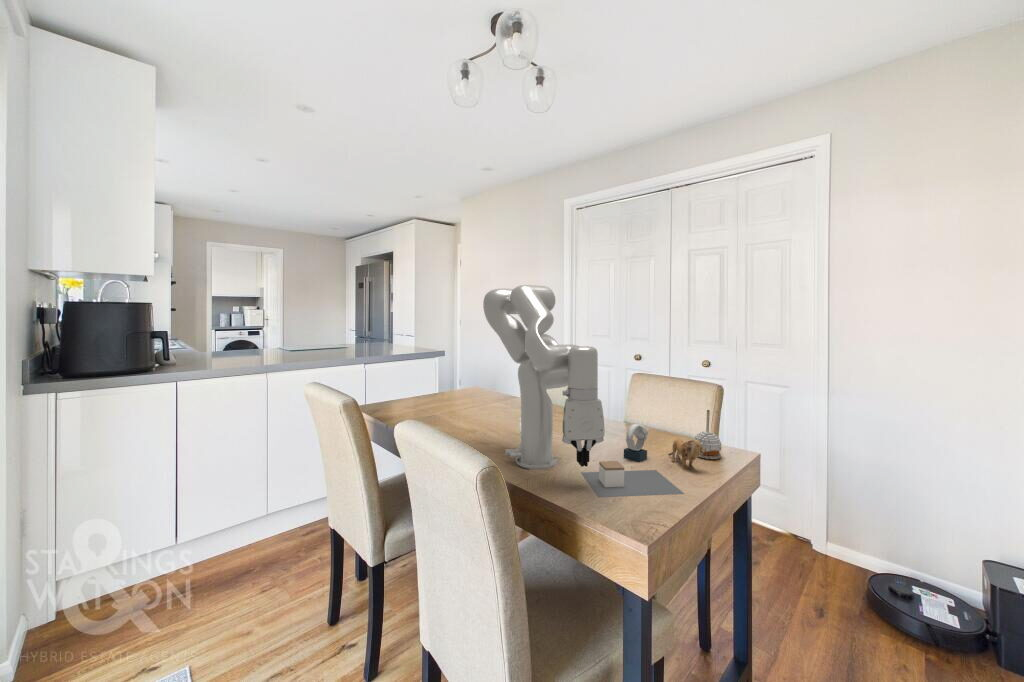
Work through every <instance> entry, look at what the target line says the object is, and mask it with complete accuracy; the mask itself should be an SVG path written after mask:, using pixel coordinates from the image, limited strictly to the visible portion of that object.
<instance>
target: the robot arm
mask: <svg viewBox="0 0 1024 682" xmlns="http://www.w3.org/2000/svg"><path fill="white" fill-rule="evenodd" d="M482 305H483V312H484V316H485V319H486V320H487V323H488V324H489V326H490V328H492V330H493V331H494V332H495V333H496V335H497V336H498V337H499V339H500V341H501V343H502V344H503V346H504V348H505V350H506V351H507V353H508V354H509V357H510V358H511V360H512V361H514V363H516V364H519V366H518V368H517V369H518V370H517V380H518V384H519V390H520V391H519V392H520V444H519V445H518V447H515V449H511V448H509V449H508V448H507V449H506V448H505V449H504V450H505V451H504V453H505V456H506V457H507V456H508V457H510V458H515V464H516V465H517V466H518V467H521V468H524V469H531V470H544V469H545V470H546V469H550V468H554V467H555V466H556V465H558V457H557V456H555V455H553V435H554V434H553V433H554V432H553V428H554V427H553V424H554V423H553V421H554V420H553V416H554V415H553V414H554V411H553V409H554V408H553V407H554V405H553V402H552V401H553V400H552V399H551V397H550V395H549V394H548V392H547V390H552V389H560V388H566V387H567V389H564V390H562V396H565V397H567V398H566V399H565V401H564V407H563V413H562V414H563V415H562V435H563V436H562V438H561V440H562V442H563V444H567V445H572V446H573V447H574V448H575V449H576V462H577V463H578V465H579V466H580V467H581V468H583V467H586V468H587V467H588V465H589V463H590V451H591V450H592V448H593V447H594V446H595V445H596V444H599V443H602V442H604V441H605V438H604V437H605V433H606V431H605V418H604V409H603V408H604V407H603V404H602V400H601V399H600V398H598V396H599V395H598V393H599V392H598V391H599V389H598V388H599V387H598V384H599V383H598V382H599V379H598V378H599V376H598V373H599V372H598V371H599V367H598V363H599V362H598V361H599V359H598V356H599V355H598V349H597V348H595V347H594V346H585V345H583V346H581V345H577V344H559V343H558V342H557V341H556V339H555V338H554V337H553V336H551V335H550V334H547V332H548V331H549V330H550V329H551V328H552V326H553V324H554V321H555V319H554V315H553V313H552V312H551V311H552V310H553V309H554V308H555V305H556V296H555V293H554V291H553V290H552V288H550V287H549V286H545V285H533V284H530V285H529V284H523V285H518V286H516V287H514V288H495V289H491V290H490V291H488V292H487V293H486V294H485V295H484V298H483V303H482ZM513 315H517V316H518V317H519V318H520V320H521V321H522V323H523V324H522V323H521V321H519V320H518V319H517V318H516V317H514V316H513ZM524 326H525V327H524ZM525 328H526V329H525ZM582 441H583V445H582Z"/></svg>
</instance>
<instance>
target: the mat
mask: <svg viewBox="0 0 1024 682" xmlns="http://www.w3.org/2000/svg"><path fill="white" fill-rule="evenodd" d="M580 474H581V475H582V476H583V478H584V480H586V482H587V483H588V485H589V486H590V487H591V489H592V491H593V492H594V493H595V495H596V496H597V498H613V497H615V498H616V497H619V498H620V497H634V496H635V497H639V496H665V495H666V496H667V495H669V496H670V495H685V493H684V492H683V491H682V490H681V489H680V488H679V487H677V486H676V485H675V484H673V482H672V481H670V480H669V479H667V478H666V477H665V476H664V475H663V474H661V473H660V472H659V471H658V470H657V469H647V470H624V487H604V485H603V484H602V483H601V482H600V480H599V471H587V472H585V471H584V472H583V471H582V472H580Z"/></svg>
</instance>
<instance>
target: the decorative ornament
mask: <svg viewBox="0 0 1024 682" xmlns="http://www.w3.org/2000/svg"><path fill="white" fill-rule="evenodd" d="M710 412H711V411H710V409H706V426H705V427H706V428H705V431H700V433H699V432H698V433H696V435H694V438H692V439H693V440H697V441H699V443H700V445H701V446H702V447H703V448H705V451H704V452H703V455H702V454H700V456H699V457H698V458H701V459H706V460H717V459H720V458H721V457H722V456H721V453H720V451H721V450H722V442H721V439H720V437H718V435H717V434H715V433H713V432H711V431H710Z"/></svg>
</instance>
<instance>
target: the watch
mask: <svg viewBox="0 0 1024 682" xmlns="http://www.w3.org/2000/svg"><path fill="white" fill-rule="evenodd" d="M648 435H649V432H648V429H647V428H646V427H645V426H644V425H643V424H640V423H632V424H630V425H629V426H628V428H627V432H626V439H625V441H626V444H627V447H626V448H624V449H623V459H627V460H629V461H634V462H637V463H642V462H644V461H646V460H647V459H648V450H646V449H643V447H644V445H645V441H646V440H647V438H648ZM634 436H635V439H637V440H636V442H635V439H634ZM635 443H636V444H635Z"/></svg>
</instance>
